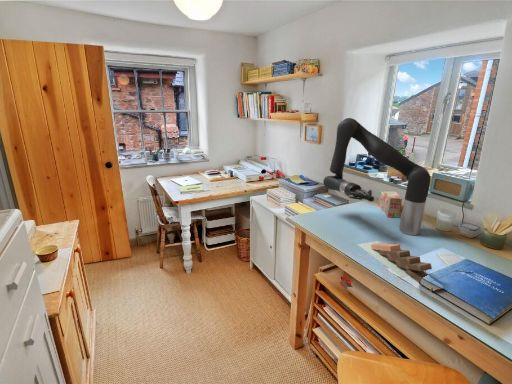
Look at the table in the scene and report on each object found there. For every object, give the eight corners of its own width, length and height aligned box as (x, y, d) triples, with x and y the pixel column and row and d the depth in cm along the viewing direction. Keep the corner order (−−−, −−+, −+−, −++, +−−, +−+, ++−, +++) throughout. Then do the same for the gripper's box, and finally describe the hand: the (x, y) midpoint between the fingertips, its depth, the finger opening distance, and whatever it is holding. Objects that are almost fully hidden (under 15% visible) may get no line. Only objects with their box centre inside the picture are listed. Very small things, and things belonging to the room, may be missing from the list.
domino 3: (395, 261, 115) (420, 265, 103) (405, 259, 116) (430, 263, 105) (396, 266, 114) (421, 271, 103) (406, 264, 116) (431, 269, 104)
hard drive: (474, 270, 111) (455, 254, 122) (452, 269, 111) (436, 253, 123) (473, 274, 111) (455, 257, 123) (451, 273, 112) (435, 256, 124)
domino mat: (357, 245, 133) (357, 244, 132) (378, 241, 136) (378, 240, 136) (400, 277, 108) (401, 276, 108) (425, 272, 111) (425, 271, 111)
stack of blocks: (377, 205, 184) (380, 186, 180) (387, 205, 183) (390, 187, 179) (387, 217, 164) (390, 197, 160) (399, 218, 163) (402, 198, 159)
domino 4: (406, 268, 110) (432, 288, 99) (416, 266, 111) (443, 285, 100) (405, 272, 110) (431, 292, 100) (415, 270, 112) (442, 290, 101)
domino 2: (386, 255, 119) (409, 258, 108) (396, 253, 121) (419, 256, 109) (387, 260, 119) (410, 264, 108) (397, 258, 120) (420, 261, 109)
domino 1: (378, 250, 124) (399, 252, 112) (388, 248, 125) (409, 250, 114) (379, 254, 124) (400, 257, 112) (389, 252, 125) (410, 255, 113)
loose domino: (371, 244, 128) (390, 246, 117) (380, 243, 130) (400, 244, 118) (371, 249, 128) (390, 251, 117) (380, 247, 130) (400, 249, 118)
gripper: (339, 183, 143) (361, 193, 127) (361, 181, 147) (385, 190, 131) (338, 197, 146) (359, 208, 130) (360, 194, 149) (383, 205, 133)
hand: (372, 199), depth 130 cm, fingers closed
